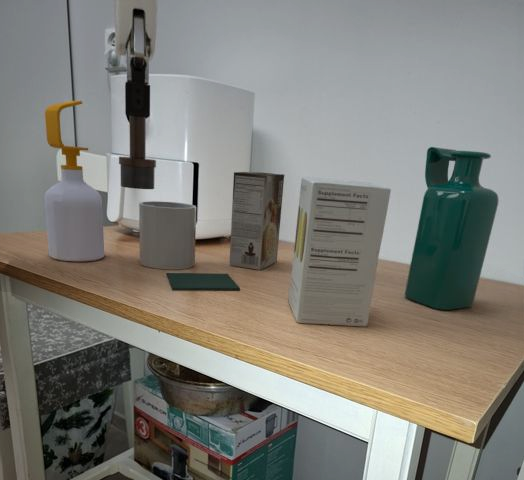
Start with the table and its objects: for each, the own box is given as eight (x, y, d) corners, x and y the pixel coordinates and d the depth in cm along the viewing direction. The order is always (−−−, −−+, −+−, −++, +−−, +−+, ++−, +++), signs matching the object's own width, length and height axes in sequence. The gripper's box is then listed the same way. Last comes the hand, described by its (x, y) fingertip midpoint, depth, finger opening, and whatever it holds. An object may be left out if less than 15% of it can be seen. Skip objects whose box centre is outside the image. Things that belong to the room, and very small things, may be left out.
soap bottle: (114, 259, 85) (109, 103, 76) (64, 264, 79) (52, 94, 70) (88, 250, 91) (80, 103, 81) (39, 254, 84) (25, 95, 75)
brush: (119, 187, 68) (117, 66, 63) (119, 184, 73) (117, 71, 68) (156, 190, 70) (158, 72, 64) (154, 187, 75) (155, 76, 69)
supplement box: (286, 301, 69) (299, 176, 62) (350, 305, 70) (369, 181, 63) (296, 324, 60) (312, 180, 54) (368, 327, 61) (393, 186, 55)
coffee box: (246, 257, 96) (252, 171, 90) (277, 262, 94) (285, 174, 88) (227, 265, 88) (233, 171, 82) (261, 270, 86) (268, 174, 80)
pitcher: (478, 307, 74) (517, 152, 66) (442, 312, 70) (479, 148, 62) (427, 290, 82) (457, 150, 74) (392, 294, 78) (419, 145, 69)
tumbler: (141, 269, 80) (140, 206, 76) (138, 257, 88) (137, 200, 84) (198, 270, 83) (200, 209, 79) (190, 258, 91) (191, 203, 87)
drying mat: (172, 290, 70) (172, 287, 69) (166, 275, 78) (166, 272, 77) (240, 290, 72) (240, 288, 72) (227, 275, 80) (227, 273, 80)
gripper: (107, -31, 67) (110, 116, 74) (104, -76, 53) (108, 110, 60) (162, -20, 69) (160, 122, 76) (173, -61, 55) (170, 117, 62)
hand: (137, 115), depth 68 cm, fingers closed on brush
